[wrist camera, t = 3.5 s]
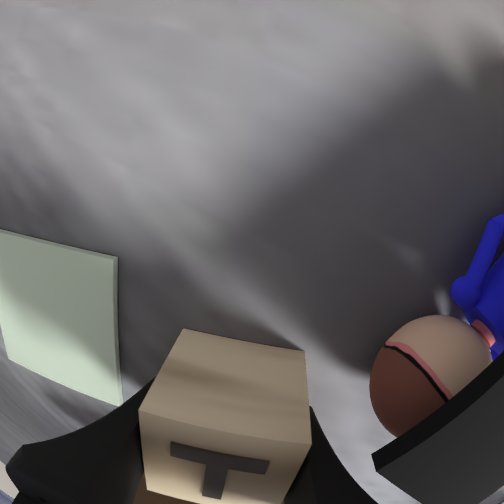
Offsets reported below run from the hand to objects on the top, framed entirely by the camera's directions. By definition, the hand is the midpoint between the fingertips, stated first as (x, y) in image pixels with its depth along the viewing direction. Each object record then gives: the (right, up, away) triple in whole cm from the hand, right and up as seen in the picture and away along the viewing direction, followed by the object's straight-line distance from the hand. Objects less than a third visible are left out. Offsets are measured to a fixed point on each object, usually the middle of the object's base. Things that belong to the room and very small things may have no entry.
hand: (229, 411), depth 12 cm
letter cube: (0, 0, +2) cm, 2 cm away
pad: (-9, +3, +2) cm, 10 cm away
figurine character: (+12, +6, -1) cm, 13 cm away
